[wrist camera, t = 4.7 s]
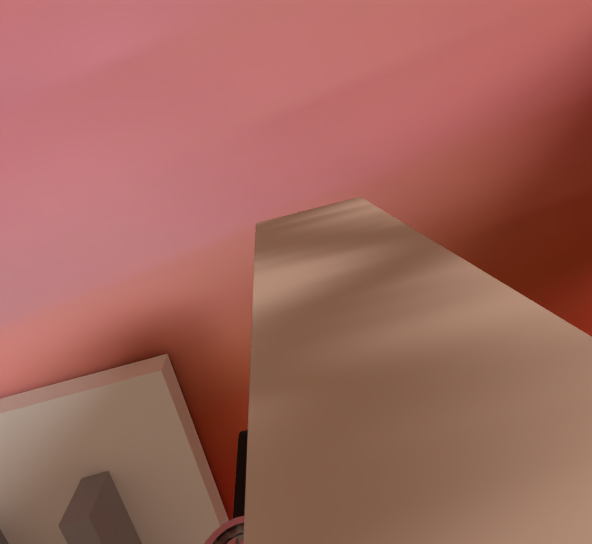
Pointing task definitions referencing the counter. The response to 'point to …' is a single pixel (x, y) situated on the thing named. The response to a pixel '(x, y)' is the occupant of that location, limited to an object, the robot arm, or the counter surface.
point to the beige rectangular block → (407, 394)
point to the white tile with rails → (105, 462)
